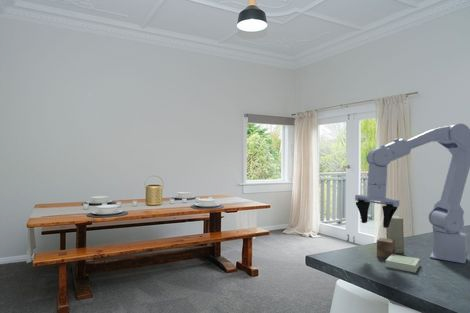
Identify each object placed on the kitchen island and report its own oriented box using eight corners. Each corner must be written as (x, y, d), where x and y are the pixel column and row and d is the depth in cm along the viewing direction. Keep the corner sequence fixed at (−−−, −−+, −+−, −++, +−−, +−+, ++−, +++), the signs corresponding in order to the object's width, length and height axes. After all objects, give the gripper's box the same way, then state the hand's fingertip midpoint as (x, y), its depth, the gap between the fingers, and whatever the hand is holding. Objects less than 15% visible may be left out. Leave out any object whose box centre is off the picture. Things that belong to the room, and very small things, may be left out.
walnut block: (394, 256, 109) (394, 239, 109) (391, 259, 105) (391, 242, 105) (380, 253, 112) (380, 237, 112) (376, 256, 108) (376, 240, 108)
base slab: (419, 265, 99) (419, 258, 99) (415, 272, 93) (415, 265, 93) (391, 260, 104) (391, 253, 104) (385, 266, 98) (385, 260, 98)
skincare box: (404, 254, 111) (404, 218, 111) (390, 253, 112) (390, 218, 112) (398, 248, 117) (398, 215, 117) (385, 248, 118) (385, 214, 118)
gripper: (350, 182, 111) (348, 221, 111) (392, 186, 100) (390, 230, 100) (362, 182, 116) (360, 220, 116) (403, 186, 104) (401, 228, 104)
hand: (374, 225), depth 108 cm, fingers open, 7 cm apart
